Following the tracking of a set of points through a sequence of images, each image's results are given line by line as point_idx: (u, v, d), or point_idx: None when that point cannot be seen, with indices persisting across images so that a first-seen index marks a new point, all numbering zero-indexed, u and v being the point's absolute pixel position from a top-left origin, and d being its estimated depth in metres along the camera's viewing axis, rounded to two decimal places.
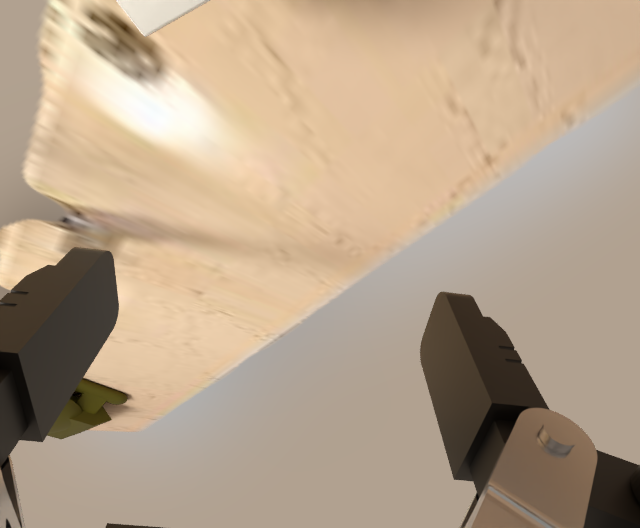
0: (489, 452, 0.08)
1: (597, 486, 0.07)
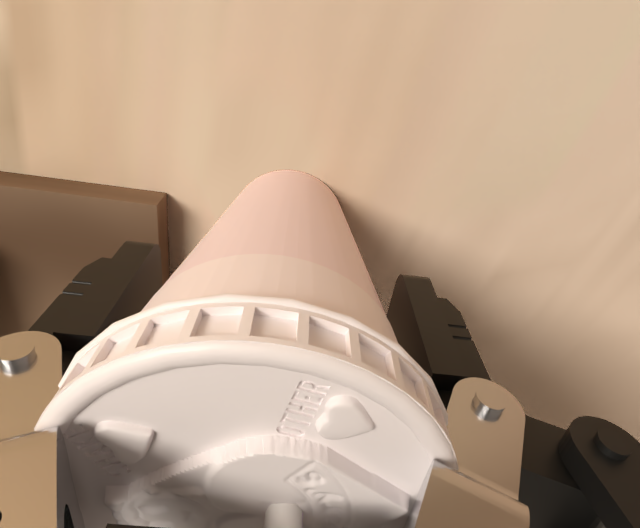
0: None
1: (526, 449, 0.07)
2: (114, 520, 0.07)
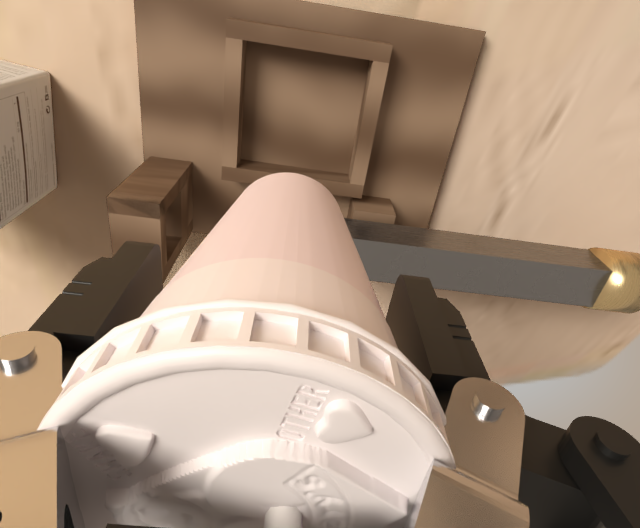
0: None
1: (526, 449, 0.07)
2: (115, 523, 0.07)
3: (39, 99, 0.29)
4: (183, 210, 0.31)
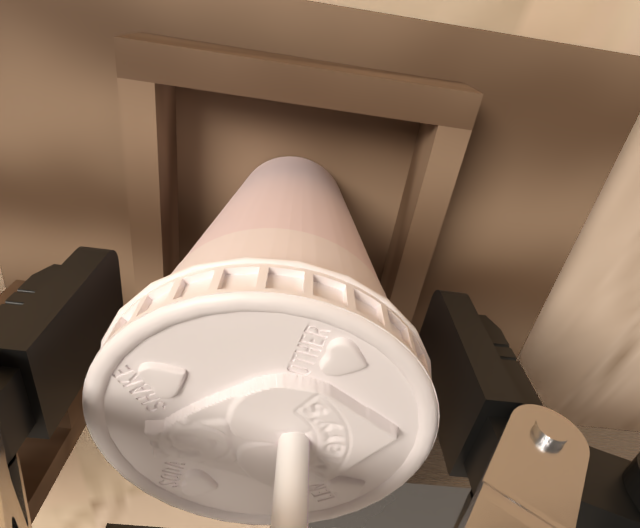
0: (483, 448, 0.08)
1: (590, 482, 0.07)
2: (151, 452, 0.08)
3: None
4: None
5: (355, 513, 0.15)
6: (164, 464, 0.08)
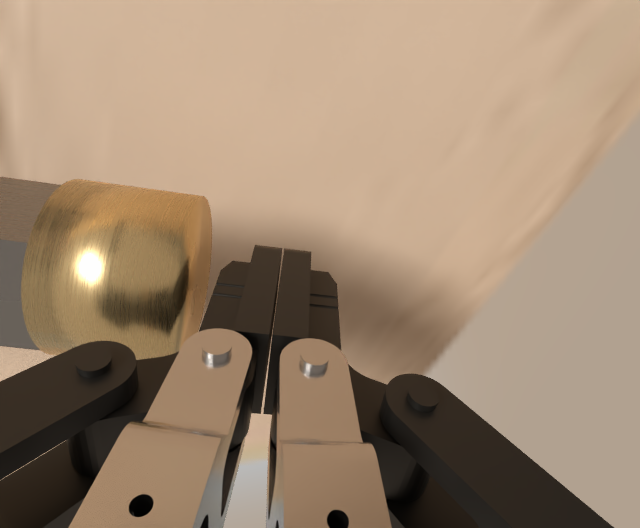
0: (276, 382, 0.08)
1: None
2: None
3: None
4: None
5: None
6: None
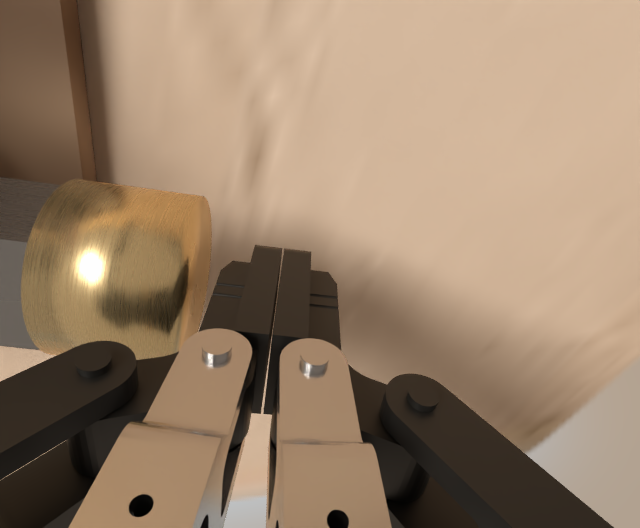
0: (276, 382, 0.08)
1: None
2: None
3: None
4: None
5: None
6: None
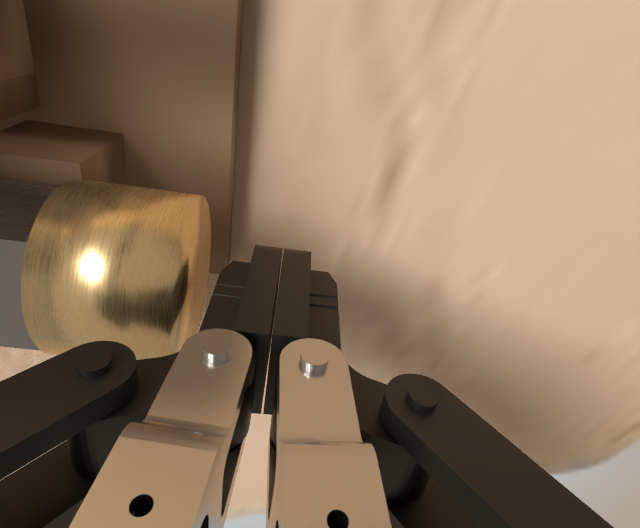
0: None
1: None
2: None
3: None
4: None
5: None
6: None
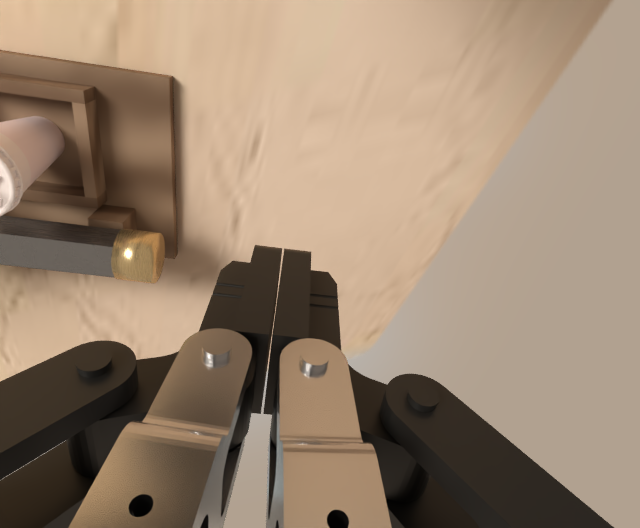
0: (276, 382, 0.08)
1: None
2: None
3: None
4: None
5: None
6: None
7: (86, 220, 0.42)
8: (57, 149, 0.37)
